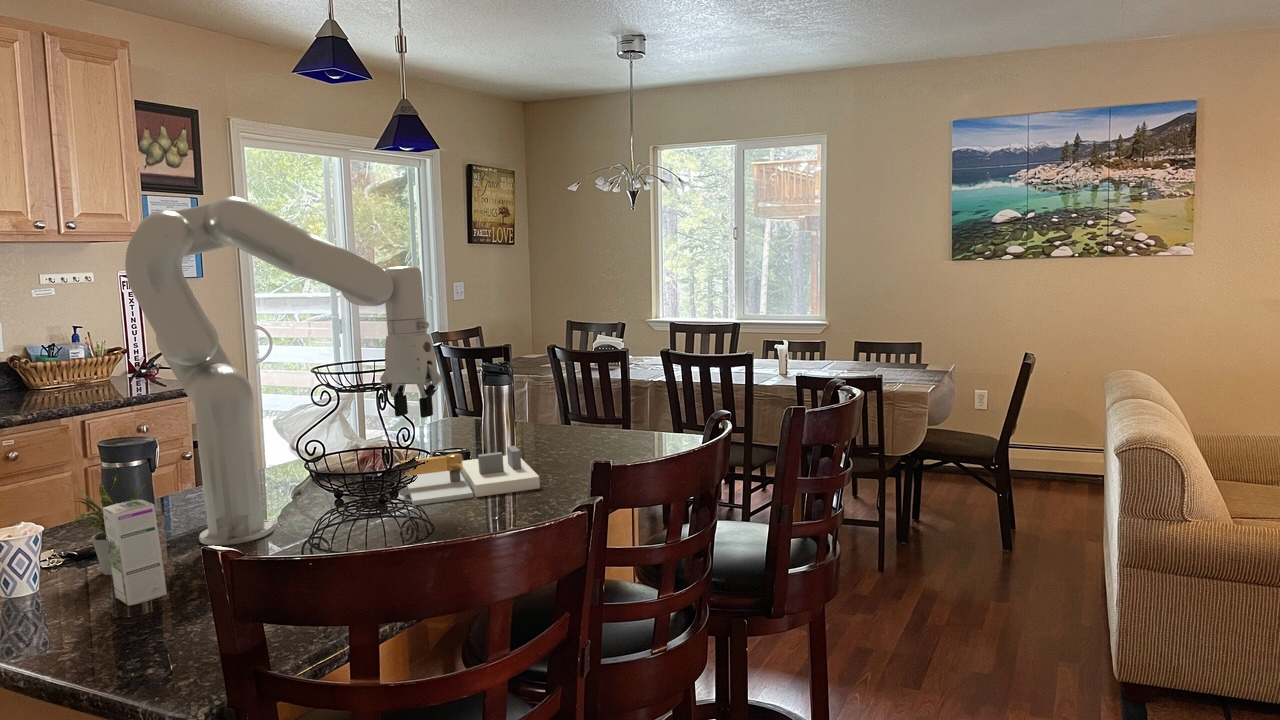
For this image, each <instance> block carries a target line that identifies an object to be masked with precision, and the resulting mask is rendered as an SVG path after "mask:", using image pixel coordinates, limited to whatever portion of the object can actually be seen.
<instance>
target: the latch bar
mask: <svg viewBox="0 0 1280 720" xmlns="http://www.w3.org/2000/svg"><path fill="white" fill-rule="evenodd" d="M410 460H411V459H407V460H406V459H405V460H400V465H401V464H402V463H405V462H408V461H410ZM415 460H416V461H418V462H420V463H423V462H422V461H424V462H425V464H421V465H418V466H417V467H416V469H414V470H412V471H410V472H407V473H405V475H404V476H411V475H419V474H427V473H435V472H443V471H458V470H461V469H463V462H462V461H463V455H462V453H449V454H446V455H440V456H432V457H425V458H423V457H422V458H421V457H420V458H415ZM427 461H428V462H427ZM404 476H403V477H404Z"/></svg>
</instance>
